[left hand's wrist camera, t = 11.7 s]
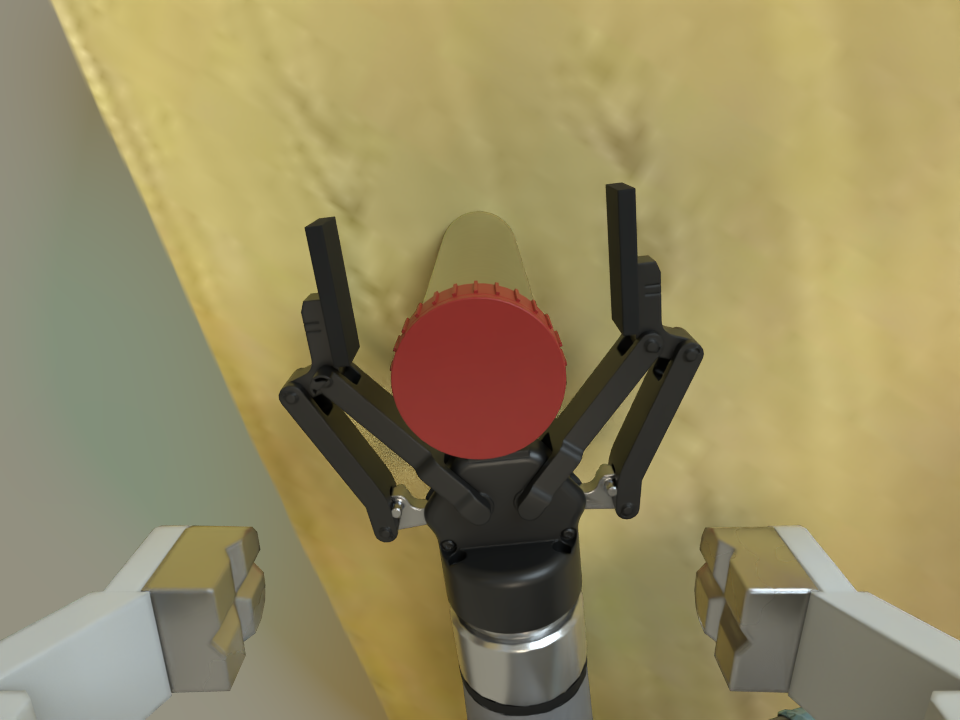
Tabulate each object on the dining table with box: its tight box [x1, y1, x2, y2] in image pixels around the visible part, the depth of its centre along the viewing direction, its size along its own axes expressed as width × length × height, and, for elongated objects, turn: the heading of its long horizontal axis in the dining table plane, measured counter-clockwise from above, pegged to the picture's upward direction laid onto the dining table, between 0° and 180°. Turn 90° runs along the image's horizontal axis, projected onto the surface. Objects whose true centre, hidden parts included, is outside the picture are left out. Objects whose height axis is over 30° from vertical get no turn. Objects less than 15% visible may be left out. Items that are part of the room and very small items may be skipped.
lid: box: [390, 281, 567, 459], centre depth 18 cm, size 5×5×2 cm
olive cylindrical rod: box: [423, 211, 534, 303], centre depth 27 cm, size 4×4×19 cm
